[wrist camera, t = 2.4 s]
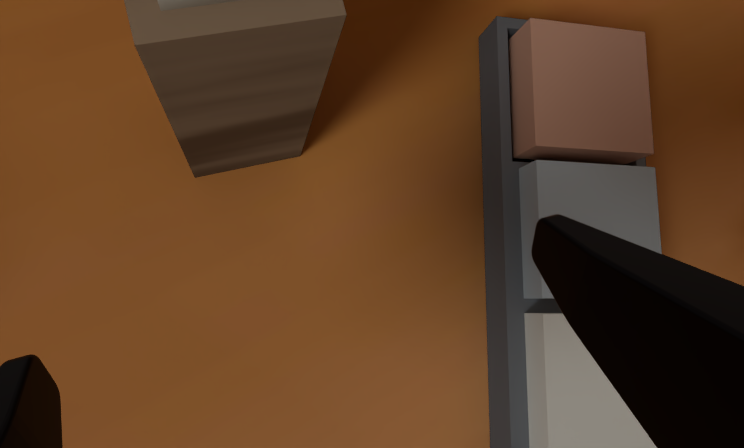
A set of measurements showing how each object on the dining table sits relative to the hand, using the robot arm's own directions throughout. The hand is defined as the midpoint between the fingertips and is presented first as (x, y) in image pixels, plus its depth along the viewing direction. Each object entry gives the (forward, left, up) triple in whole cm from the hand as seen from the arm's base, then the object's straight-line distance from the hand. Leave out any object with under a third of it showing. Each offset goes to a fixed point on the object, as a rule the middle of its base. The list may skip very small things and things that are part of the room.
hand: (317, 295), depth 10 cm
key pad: (-9, -10, -13) cm, 19 cm away
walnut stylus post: (+6, -5, -13) cm, 16 cm away
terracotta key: (-5, -15, -12) cm, 20 cm away
